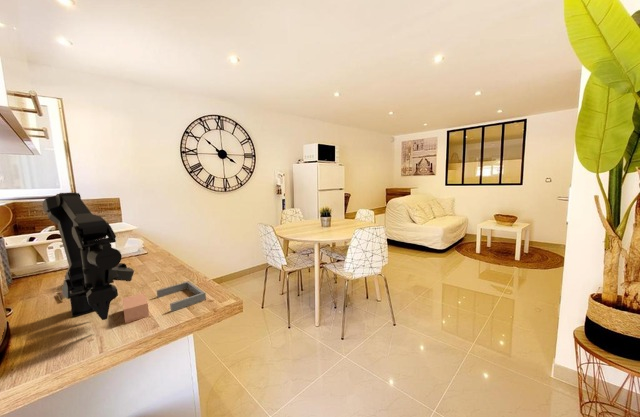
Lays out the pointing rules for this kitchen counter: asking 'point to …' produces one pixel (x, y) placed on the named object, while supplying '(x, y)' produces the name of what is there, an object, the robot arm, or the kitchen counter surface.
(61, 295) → the shard
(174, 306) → the grey u-shaped bracket
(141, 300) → the salmon pink block
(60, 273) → the kitchen counter surface
